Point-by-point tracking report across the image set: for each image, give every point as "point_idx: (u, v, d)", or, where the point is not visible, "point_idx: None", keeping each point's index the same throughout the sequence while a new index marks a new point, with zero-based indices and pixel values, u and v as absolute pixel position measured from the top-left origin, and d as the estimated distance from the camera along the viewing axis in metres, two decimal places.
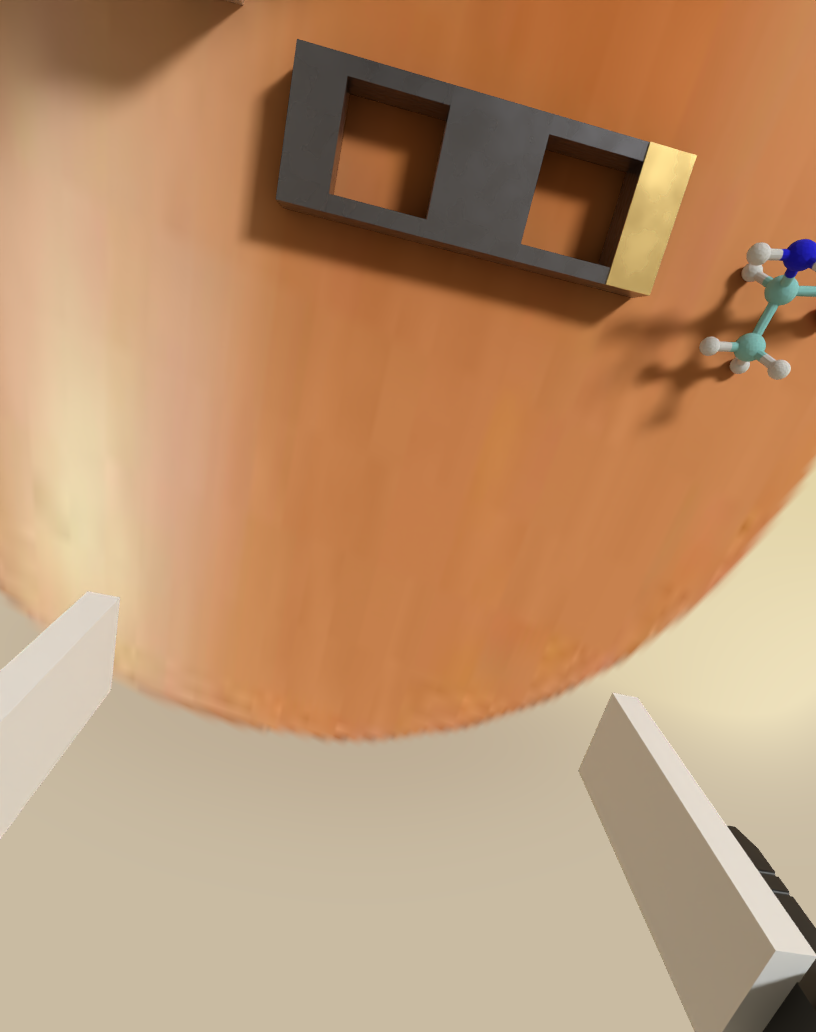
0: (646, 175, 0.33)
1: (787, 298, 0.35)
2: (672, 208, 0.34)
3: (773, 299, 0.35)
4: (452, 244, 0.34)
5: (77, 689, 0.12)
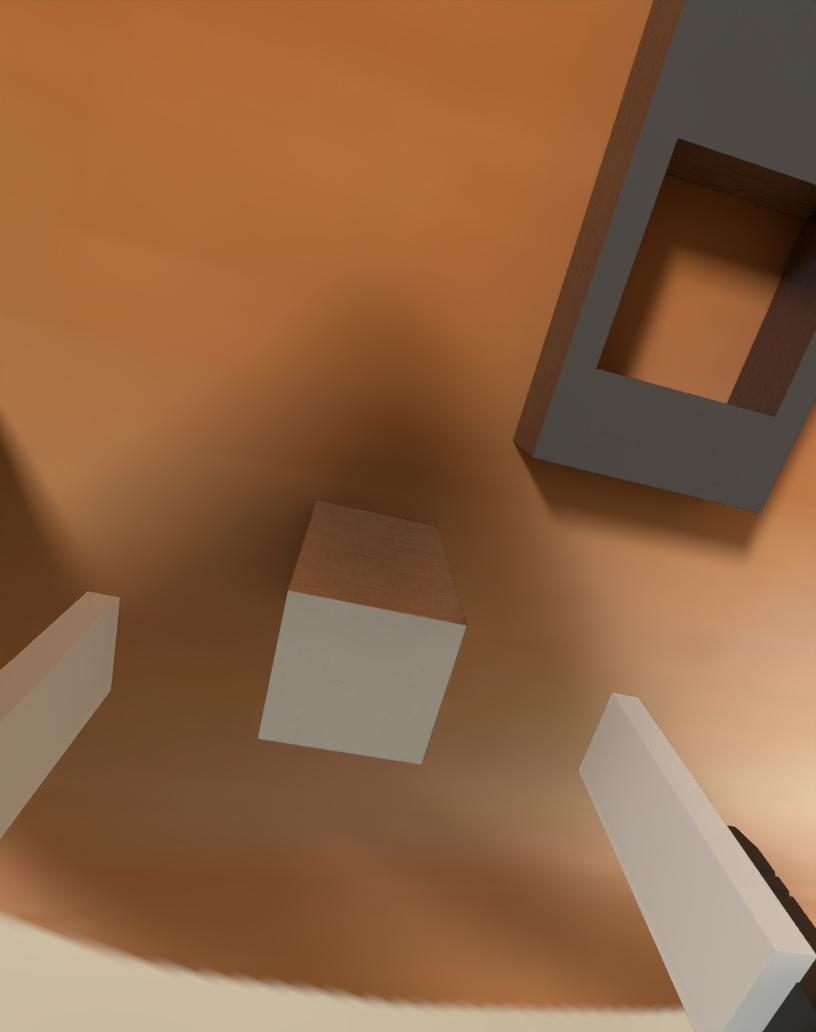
0: None
1: None
2: None
3: None
4: None
5: (77, 689, 0.12)
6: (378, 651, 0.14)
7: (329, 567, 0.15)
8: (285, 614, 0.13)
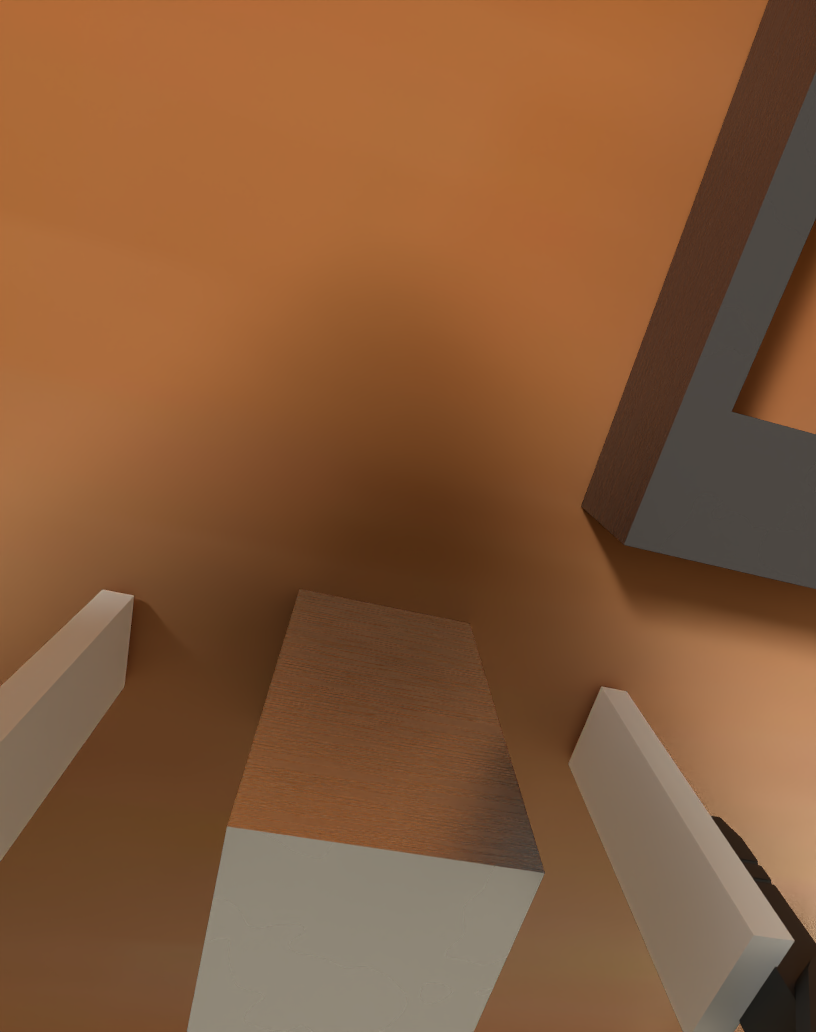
0: None
1: None
2: None
3: None
4: None
5: (94, 685, 0.12)
6: (390, 914, 0.08)
7: (308, 746, 0.09)
8: (224, 863, 0.07)
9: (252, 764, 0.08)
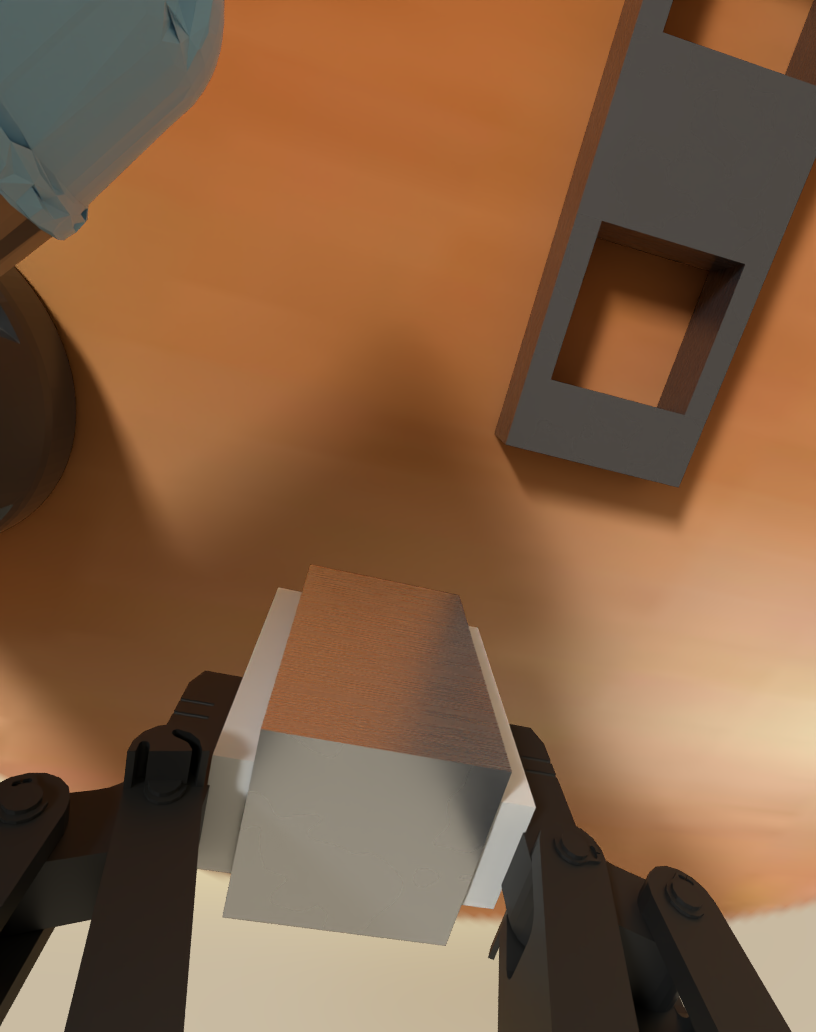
0: None
1: None
2: None
3: None
4: (787, 219, 0.21)
5: None
6: (388, 806, 0.10)
7: (322, 679, 0.11)
8: (257, 760, 0.10)
9: (277, 689, 0.10)
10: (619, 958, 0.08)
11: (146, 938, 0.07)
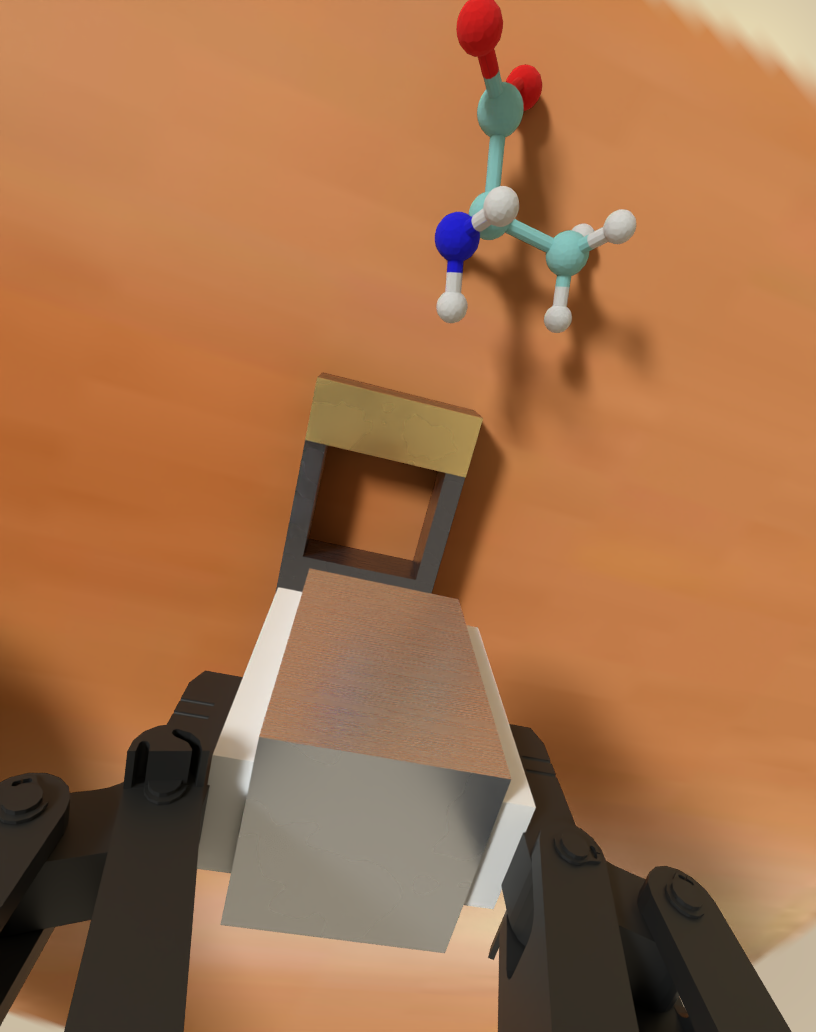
0: (341, 440, 0.26)
1: None
2: (378, 399, 0.26)
3: (503, 231, 0.23)
4: None
5: None
6: (386, 813, 0.10)
7: (320, 685, 0.11)
8: (255, 768, 0.09)
9: (276, 696, 0.10)
10: (619, 958, 0.08)
11: (146, 938, 0.07)
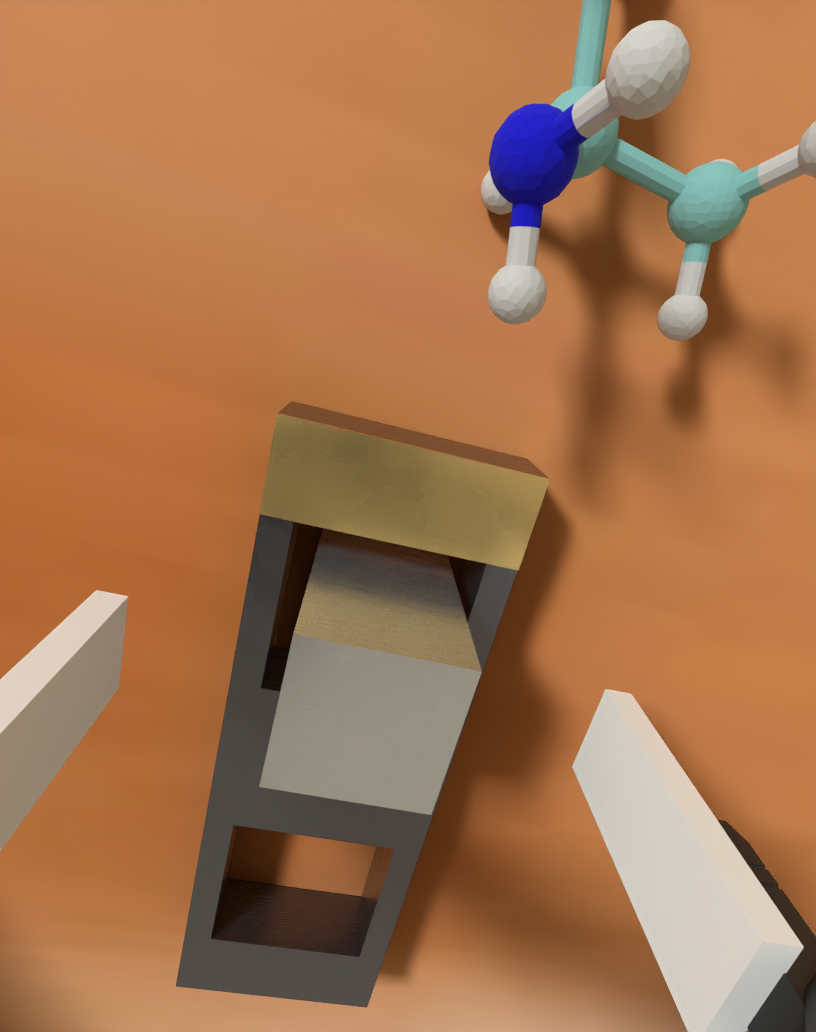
0: (319, 513, 0.16)
1: (611, 124, 0.13)
2: (379, 449, 0.16)
3: (602, 160, 0.13)
4: (432, 812, 0.20)
5: (87, 687, 0.12)
6: (387, 698, 0.13)
7: (337, 606, 0.14)
8: (290, 658, 0.13)
9: (303, 611, 0.14)
10: None
11: None
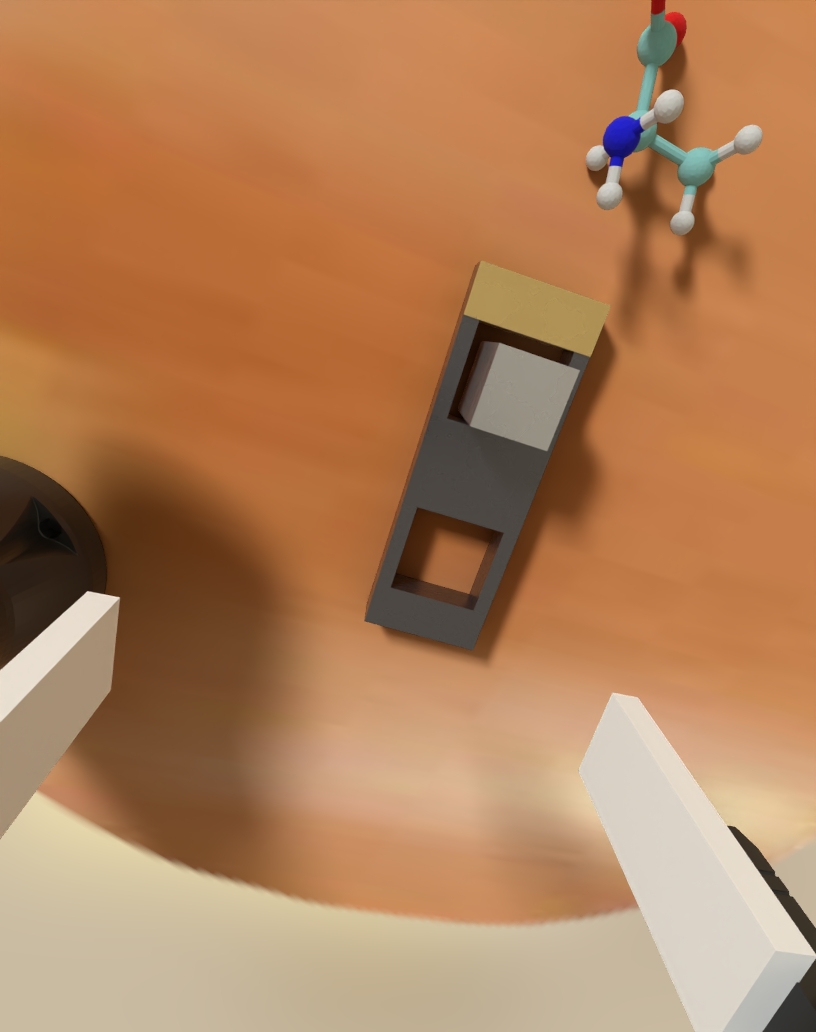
0: (493, 316, 0.32)
1: (653, 127, 0.28)
2: (527, 283, 0.32)
3: (648, 143, 0.29)
4: (527, 510, 0.36)
5: (77, 689, 0.12)
6: (536, 380, 0.29)
7: None
8: (496, 355, 0.29)
9: (497, 343, 0.29)
10: None
11: None
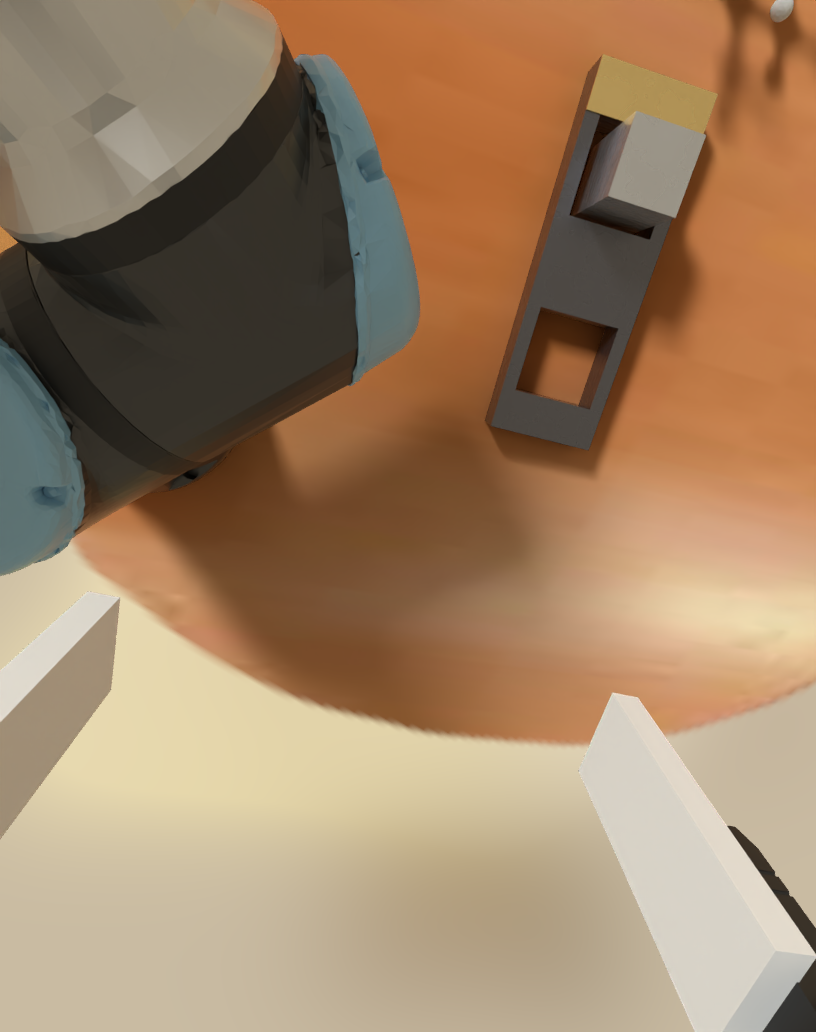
0: (612, 109, 0.35)
1: None
2: (643, 76, 0.35)
3: None
4: (639, 305, 0.40)
5: (77, 689, 0.12)
6: (667, 147, 0.32)
7: None
8: (633, 123, 0.32)
9: (629, 118, 0.33)
10: None
11: None
